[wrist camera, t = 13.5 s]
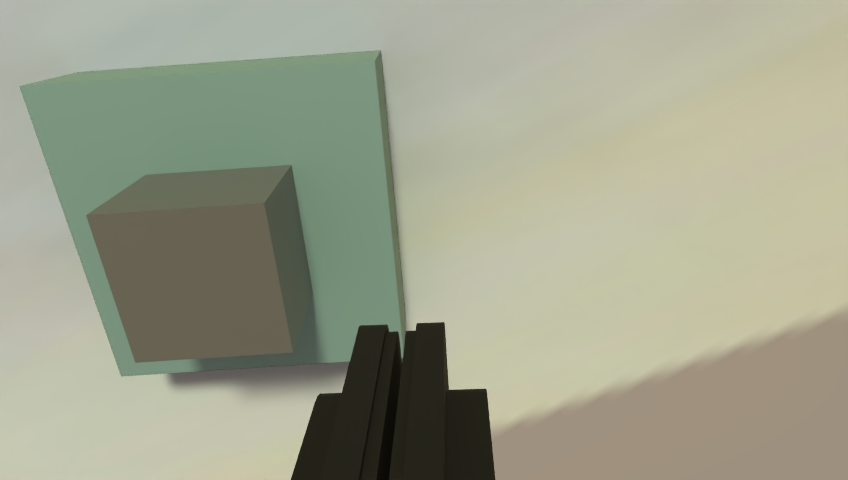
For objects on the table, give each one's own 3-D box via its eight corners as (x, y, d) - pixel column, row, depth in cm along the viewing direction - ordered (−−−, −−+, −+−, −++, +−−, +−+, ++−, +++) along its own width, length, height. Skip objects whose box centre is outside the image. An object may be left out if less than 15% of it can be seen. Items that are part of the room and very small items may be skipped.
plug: (307, 142, 29) (264, 202, 21) (324, 258, 31) (292, 352, 23) (179, 151, 29) (85, 215, 21) (208, 266, 32) (135, 362, 23)
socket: (380, 50, 27) (374, 60, 23) (405, 313, 34) (404, 357, 29) (78, 72, 28) (19, 86, 24) (157, 329, 34) (121, 376, 30)
